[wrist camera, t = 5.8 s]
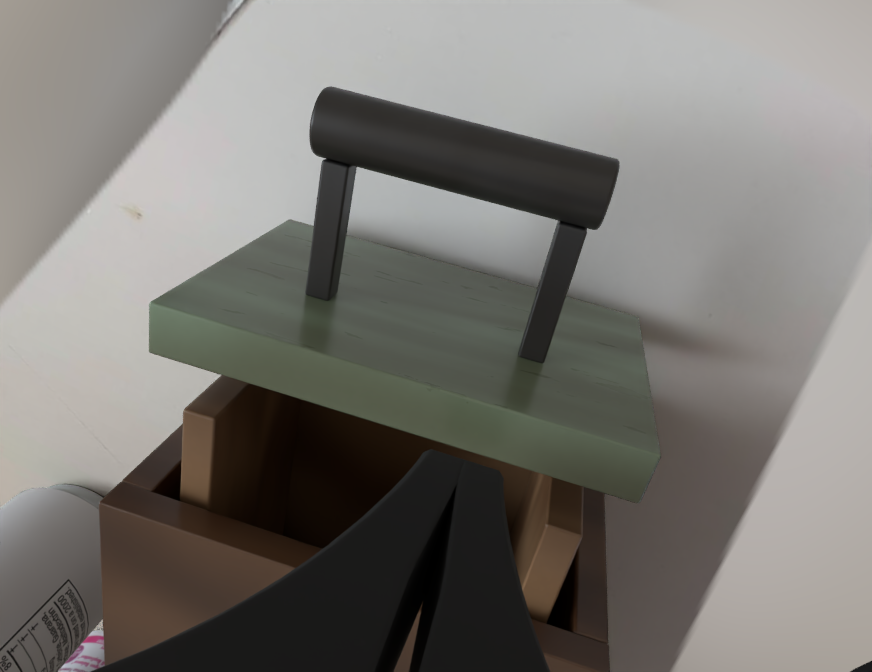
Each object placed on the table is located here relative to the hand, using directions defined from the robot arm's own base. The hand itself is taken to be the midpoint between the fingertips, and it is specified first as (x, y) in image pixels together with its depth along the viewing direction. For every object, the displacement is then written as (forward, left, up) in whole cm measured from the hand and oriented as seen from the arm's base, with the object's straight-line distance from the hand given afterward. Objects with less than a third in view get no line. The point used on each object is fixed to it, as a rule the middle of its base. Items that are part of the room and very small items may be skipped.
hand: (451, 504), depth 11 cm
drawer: (+2, +3, -9) cm, 9 cm away
